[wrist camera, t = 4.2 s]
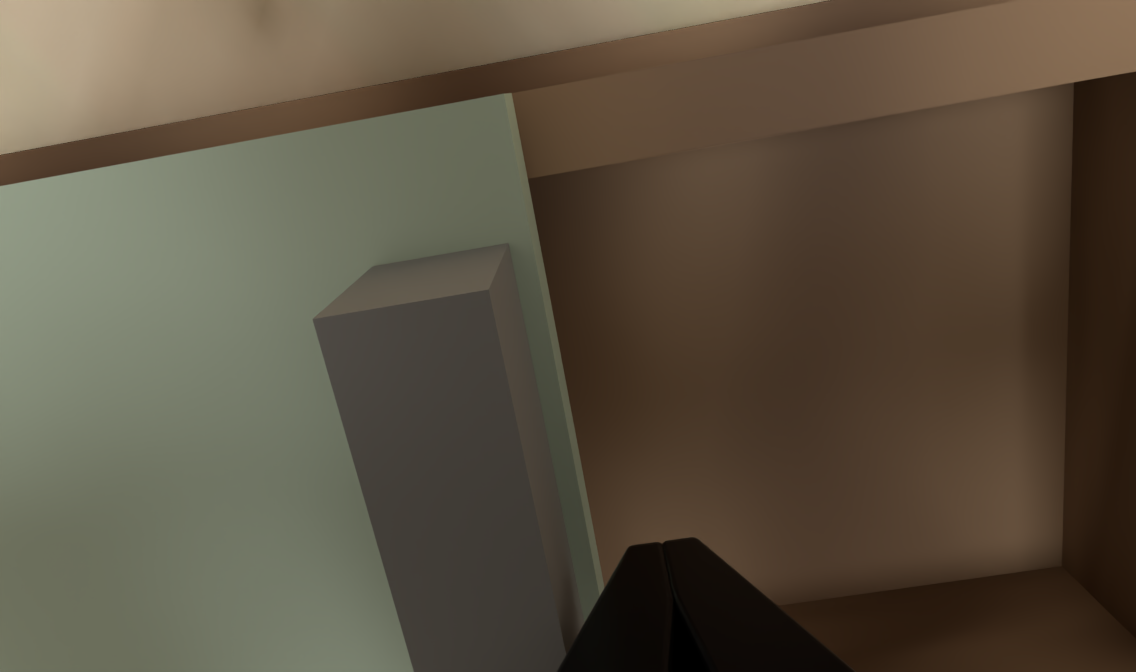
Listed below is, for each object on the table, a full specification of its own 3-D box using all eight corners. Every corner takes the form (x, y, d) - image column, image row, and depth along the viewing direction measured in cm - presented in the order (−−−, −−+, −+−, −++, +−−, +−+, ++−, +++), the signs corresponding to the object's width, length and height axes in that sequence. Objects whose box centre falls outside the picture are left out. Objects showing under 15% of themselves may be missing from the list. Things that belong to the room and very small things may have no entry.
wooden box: (1135, -54, 12) (1393, -119, 8) (1105, 588, 16) (1276, 749, 12) (-219, 198, 13) (-532, 242, 10) (40, 735, 17) (-113, 921, 13)
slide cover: (512, 93, 9) (481, 95, 6) (647, 820, 12) (671, 1049, 9) (-374, 256, 9) (-792, 328, 6) (-14, 903, 13) (-185, 1139, 10)
